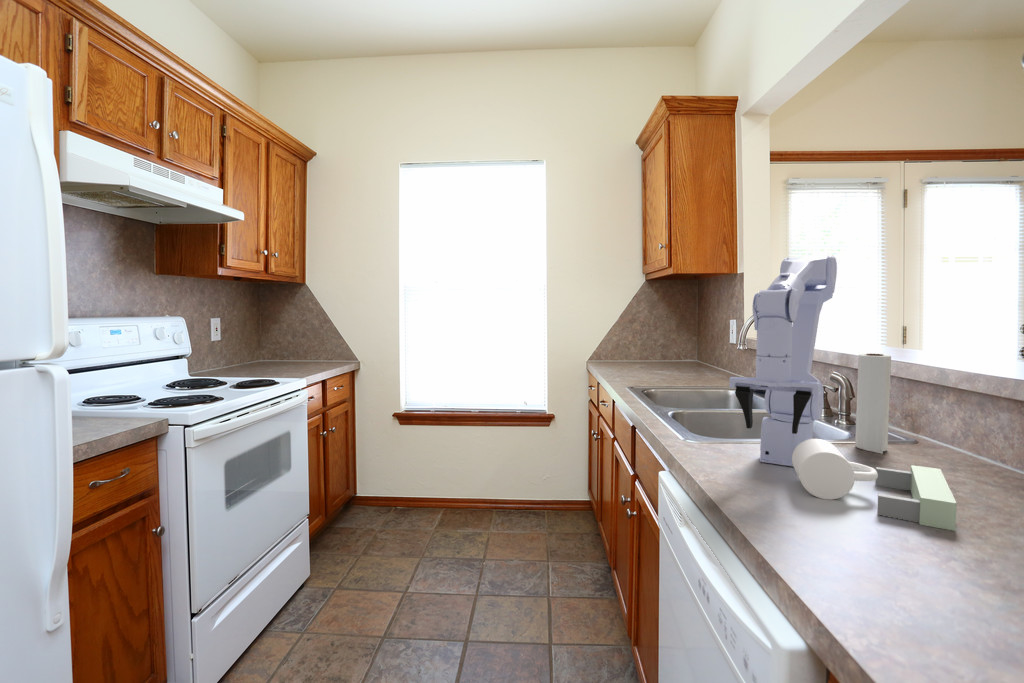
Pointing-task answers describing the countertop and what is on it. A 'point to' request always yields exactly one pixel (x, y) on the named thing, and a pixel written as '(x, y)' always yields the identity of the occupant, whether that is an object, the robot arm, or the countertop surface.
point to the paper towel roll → (873, 402)
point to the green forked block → (918, 497)
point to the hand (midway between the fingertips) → (771, 429)
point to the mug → (827, 469)
